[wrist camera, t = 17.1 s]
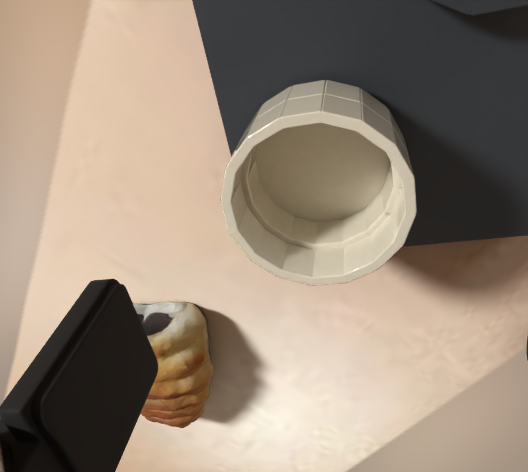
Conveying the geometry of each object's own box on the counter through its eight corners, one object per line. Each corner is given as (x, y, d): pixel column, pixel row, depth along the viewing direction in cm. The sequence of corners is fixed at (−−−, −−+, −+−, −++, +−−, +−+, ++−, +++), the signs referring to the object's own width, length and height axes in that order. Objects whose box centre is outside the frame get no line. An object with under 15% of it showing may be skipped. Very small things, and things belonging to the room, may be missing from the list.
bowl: (227, 93, 21) (200, 129, 17) (398, 63, 19) (410, 97, 15) (261, 233, 24) (244, 291, 20) (408, 218, 22) (420, 277, 19)
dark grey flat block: (173, -134, 18) (140, -146, 15) (591, -253, 15) (648, -296, 12) (262, 240, 26) (251, 279, 23) (549, 211, 23) (578, 252, 20)
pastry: (229, 407, 34) (215, 457, 30) (135, 401, 35) (113, 449, 32) (207, 296, 29) (188, 342, 26) (99, 294, 30) (68, 338, 27)
